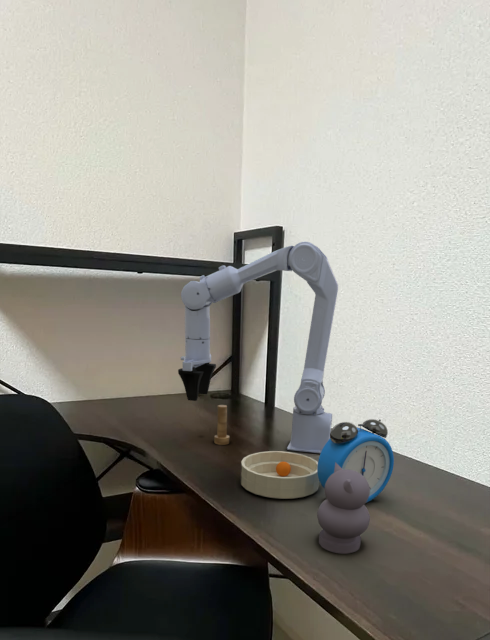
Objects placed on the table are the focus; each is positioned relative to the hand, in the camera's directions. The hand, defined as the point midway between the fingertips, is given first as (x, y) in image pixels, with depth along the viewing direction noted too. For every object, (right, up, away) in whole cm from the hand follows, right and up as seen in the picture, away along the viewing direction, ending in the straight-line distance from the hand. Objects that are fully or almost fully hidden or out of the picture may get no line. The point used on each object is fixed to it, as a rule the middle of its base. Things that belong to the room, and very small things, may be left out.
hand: (197, 397), depth 124 cm
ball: (+20, -19, -20) cm, 34 cm away
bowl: (+19, -22, -23) cm, 37 cm away
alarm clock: (+32, -25, -28) cm, 49 cm away
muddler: (+6, -11, +1) cm, 12 cm away
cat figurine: (+27, -32, -44) cm, 61 cm away
